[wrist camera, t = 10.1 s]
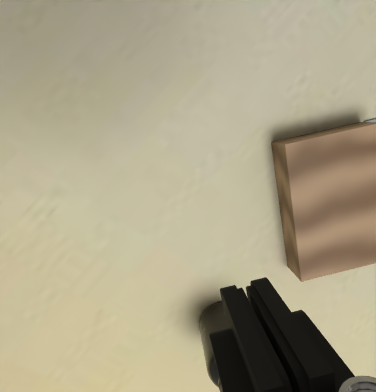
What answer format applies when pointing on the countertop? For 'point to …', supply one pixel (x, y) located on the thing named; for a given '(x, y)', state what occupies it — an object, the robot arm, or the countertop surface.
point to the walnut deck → (328, 199)
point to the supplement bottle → (209, 323)
